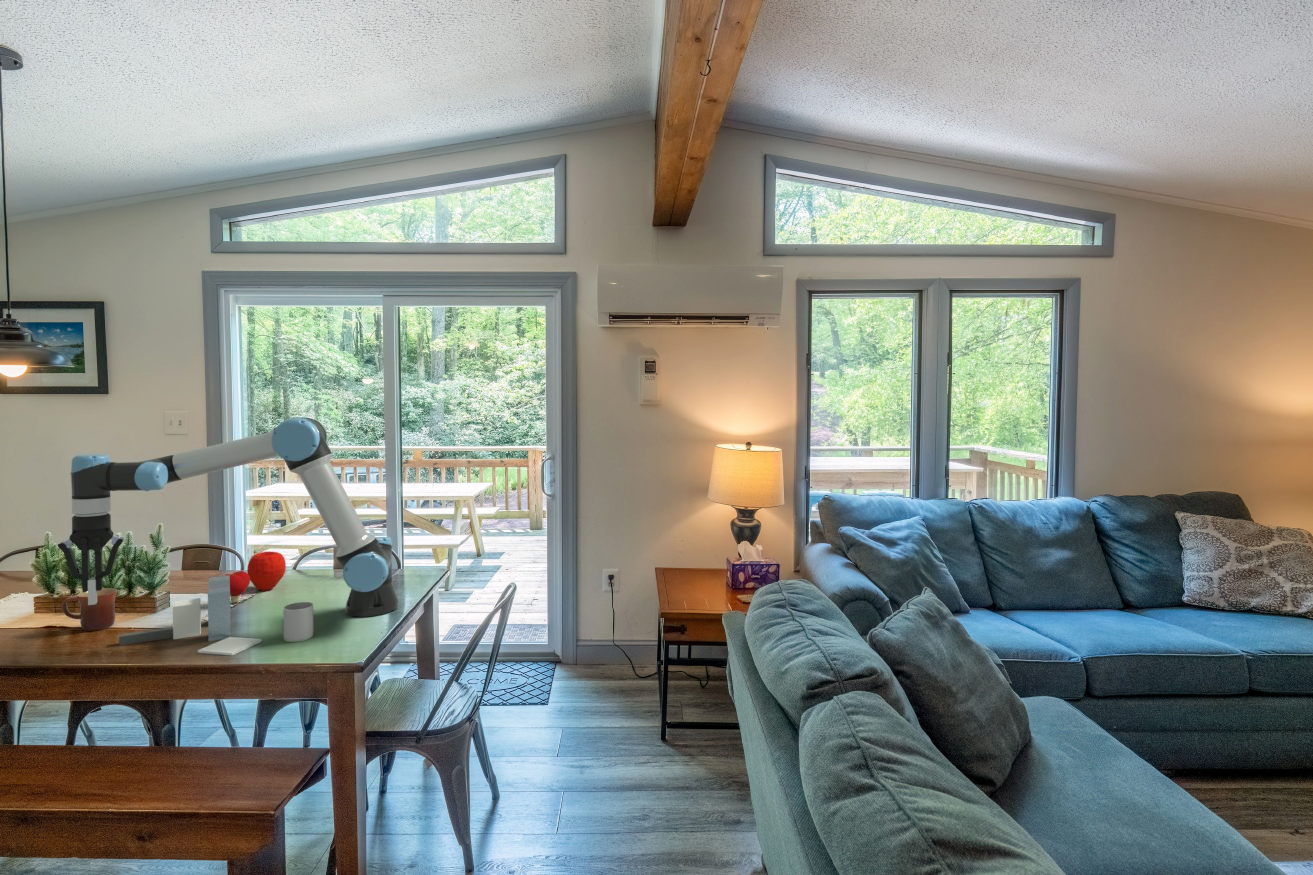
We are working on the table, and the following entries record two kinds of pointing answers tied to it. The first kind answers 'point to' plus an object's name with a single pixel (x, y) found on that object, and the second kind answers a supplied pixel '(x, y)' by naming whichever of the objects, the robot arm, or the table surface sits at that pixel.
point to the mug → (94, 610)
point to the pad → (230, 646)
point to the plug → (183, 625)
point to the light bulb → (238, 584)
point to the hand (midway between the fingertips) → (92, 603)
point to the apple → (266, 569)
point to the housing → (219, 608)
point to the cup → (298, 621)
